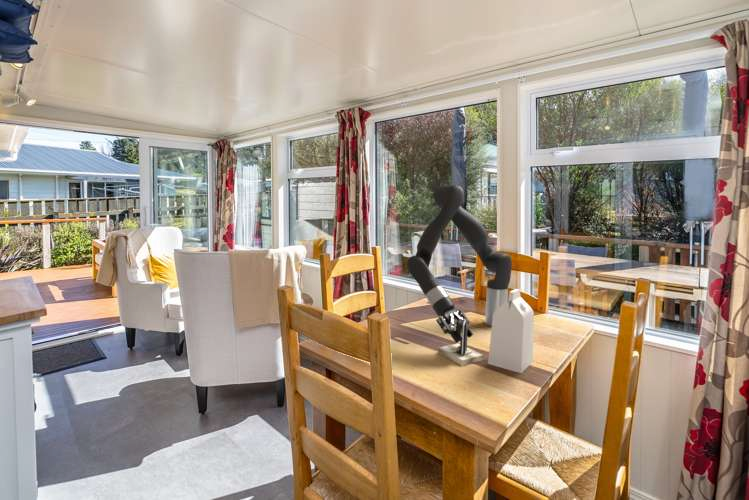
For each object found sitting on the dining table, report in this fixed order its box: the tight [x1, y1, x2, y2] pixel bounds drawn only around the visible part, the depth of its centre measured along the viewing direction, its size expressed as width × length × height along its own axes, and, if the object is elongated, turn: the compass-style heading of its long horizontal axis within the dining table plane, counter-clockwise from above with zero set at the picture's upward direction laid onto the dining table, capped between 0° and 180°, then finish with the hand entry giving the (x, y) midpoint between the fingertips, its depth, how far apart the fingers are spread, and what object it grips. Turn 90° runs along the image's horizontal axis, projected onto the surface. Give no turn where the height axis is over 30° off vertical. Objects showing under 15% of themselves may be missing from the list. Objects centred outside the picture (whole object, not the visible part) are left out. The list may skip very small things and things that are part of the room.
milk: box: [487, 288, 535, 374], centre depth 135 cm, size 12×12×26 cm
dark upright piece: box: [455, 319, 469, 354], centre depth 140 cm, size 7×4×11 cm, turn 160°
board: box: [437, 342, 485, 367], centre depth 142 cm, size 10×13×2 cm
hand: (465, 338), depth 139 cm, fingers closed on dark upright piece, 7 cm apart
